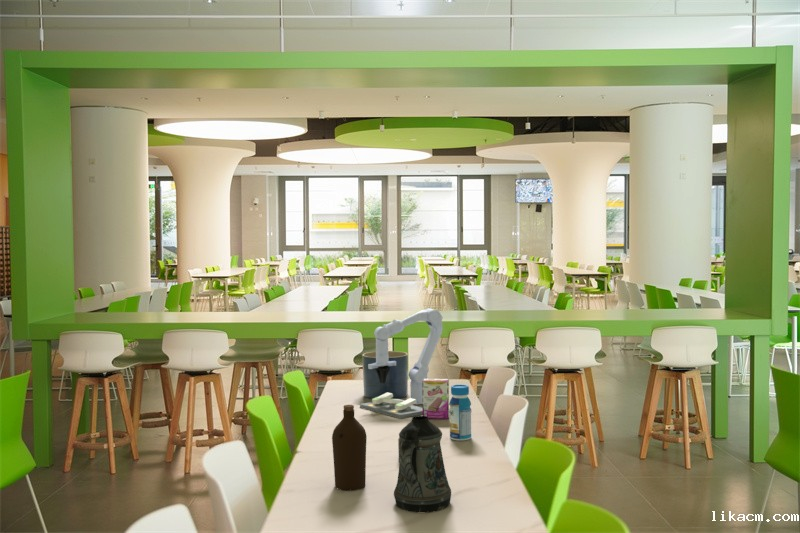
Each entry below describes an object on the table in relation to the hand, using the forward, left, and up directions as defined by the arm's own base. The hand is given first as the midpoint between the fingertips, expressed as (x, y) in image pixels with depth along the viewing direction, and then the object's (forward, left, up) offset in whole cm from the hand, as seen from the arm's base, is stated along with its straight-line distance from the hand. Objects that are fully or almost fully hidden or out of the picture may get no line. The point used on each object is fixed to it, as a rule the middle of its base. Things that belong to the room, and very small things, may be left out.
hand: (382, 382), depth 357 cm
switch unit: (+2, +11, -10) cm, 15 cm away
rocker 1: (+2, +3, -6) cm, 7 cm away
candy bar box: (-2, +35, -11) cm, 37 cm away
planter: (-15, -18, -11) cm, 26 cm away
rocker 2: (+2, +11, -6) cm, 13 cm away
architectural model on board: (+43, +77, -11) cm, 89 cm away
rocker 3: (+2, +20, -6) cm, 21 cm away
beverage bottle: (+13, +67, -11) cm, 69 cm away
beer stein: (+71, +115, -11) cm, 136 cm away
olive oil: (+77, +87, -11) cm, 117 cm away
